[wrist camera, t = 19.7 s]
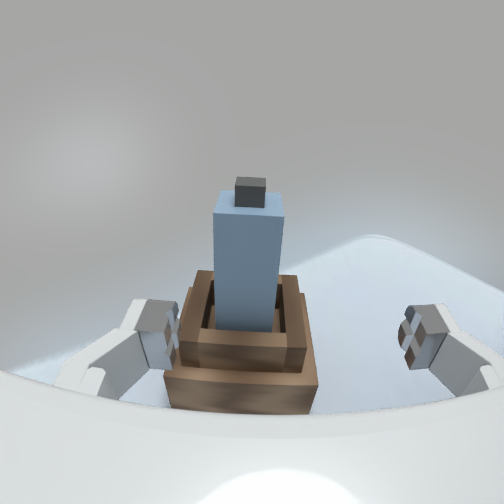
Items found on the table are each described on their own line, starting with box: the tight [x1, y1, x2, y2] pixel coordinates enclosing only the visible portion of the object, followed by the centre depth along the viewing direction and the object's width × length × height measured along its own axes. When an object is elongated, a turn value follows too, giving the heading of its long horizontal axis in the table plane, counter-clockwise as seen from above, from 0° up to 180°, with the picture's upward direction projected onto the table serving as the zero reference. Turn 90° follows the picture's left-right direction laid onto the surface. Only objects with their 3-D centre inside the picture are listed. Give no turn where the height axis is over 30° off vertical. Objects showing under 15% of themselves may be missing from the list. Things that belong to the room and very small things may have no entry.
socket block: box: [163, 270, 318, 415], centre depth 29 cm, size 12×12×9 cm
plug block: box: [213, 177, 284, 333], centre depth 25 cm, size 4×4×14 cm
